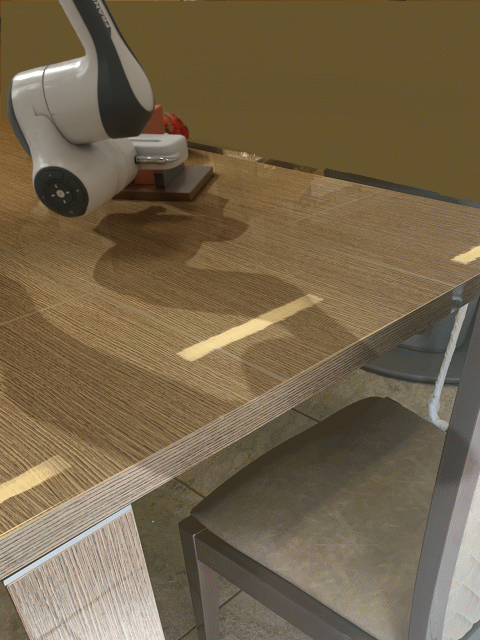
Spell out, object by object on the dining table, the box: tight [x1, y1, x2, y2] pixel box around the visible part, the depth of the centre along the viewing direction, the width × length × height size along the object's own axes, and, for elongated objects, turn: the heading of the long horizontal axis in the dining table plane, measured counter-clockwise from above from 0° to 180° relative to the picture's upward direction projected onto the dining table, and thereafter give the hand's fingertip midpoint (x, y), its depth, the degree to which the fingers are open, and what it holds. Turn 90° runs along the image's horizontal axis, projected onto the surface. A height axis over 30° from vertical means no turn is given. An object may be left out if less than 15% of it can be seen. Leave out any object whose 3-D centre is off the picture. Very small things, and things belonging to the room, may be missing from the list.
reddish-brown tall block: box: [134, 104, 165, 184], centre depth 110 cm, size 4×8×11 cm, turn 174°
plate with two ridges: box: [111, 162, 215, 202], centre depth 113 cm, size 18×16×4 cm
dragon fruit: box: [163, 111, 190, 141], centre depth 130 cm, size 8×8×12 cm
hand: (137, 137), depth 106 cm, fingers open, 8 cm apart
